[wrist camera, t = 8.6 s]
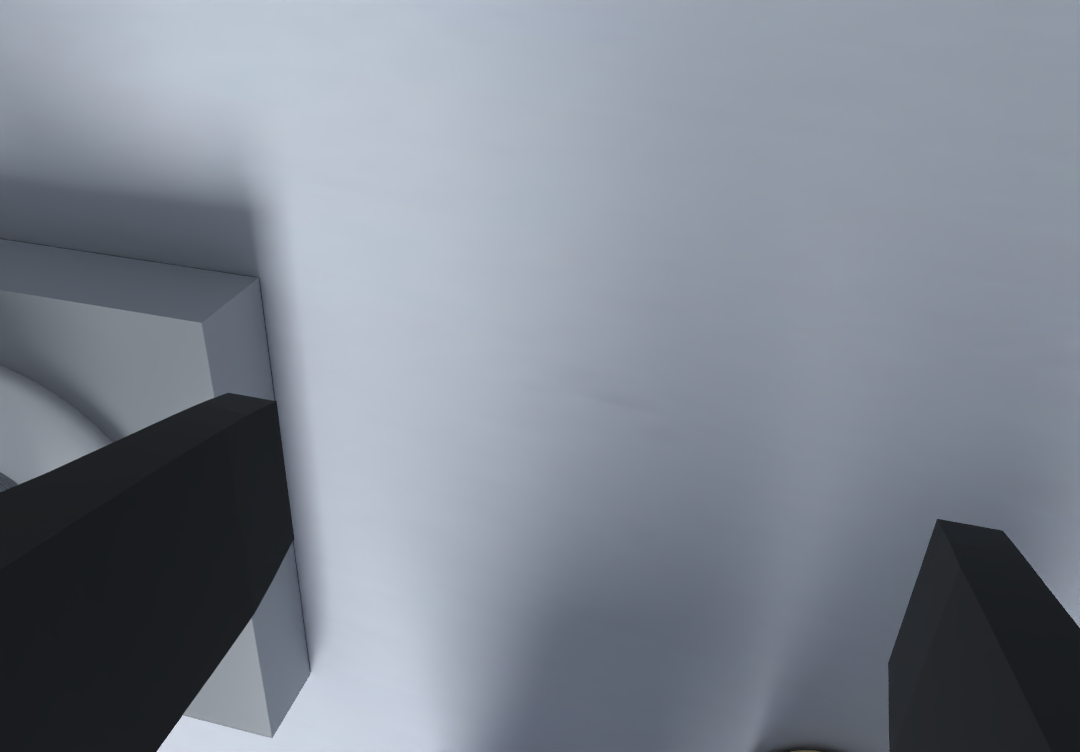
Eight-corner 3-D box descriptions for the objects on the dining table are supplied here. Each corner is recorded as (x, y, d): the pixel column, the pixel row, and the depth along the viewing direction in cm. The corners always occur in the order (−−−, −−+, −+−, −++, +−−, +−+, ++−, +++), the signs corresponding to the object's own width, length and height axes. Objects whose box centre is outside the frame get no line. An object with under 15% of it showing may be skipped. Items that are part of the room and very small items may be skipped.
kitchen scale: (310, 674, 29) (235, 799, 25) (-76, 582, 32) (-196, 682, 28) (258, 278, 22) (143, 368, 18) (-232, 204, 25) (-421, 268, 21)
